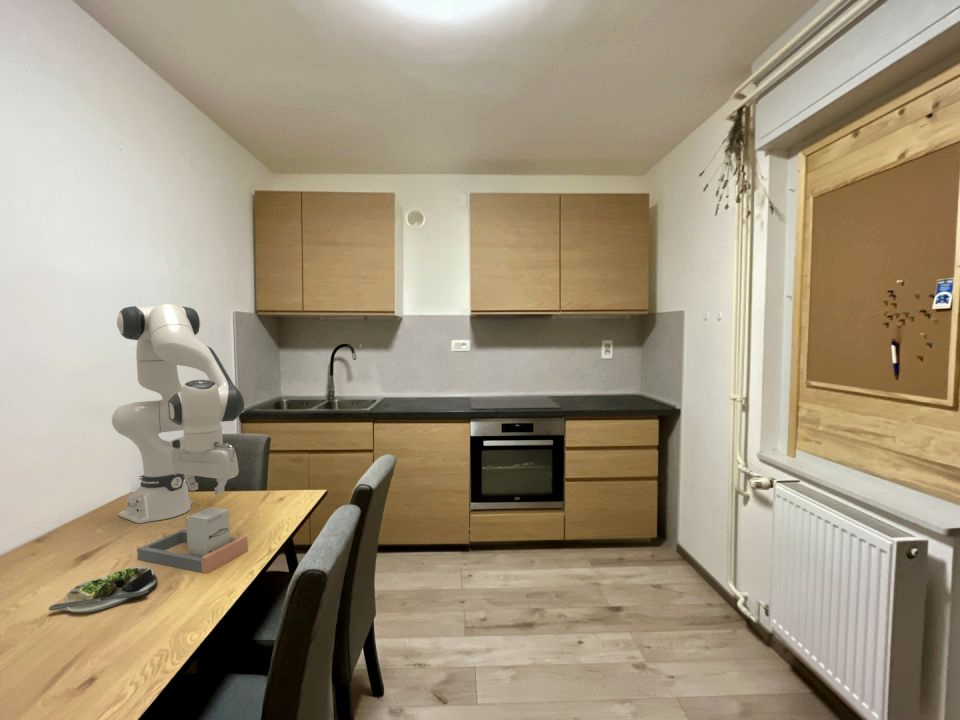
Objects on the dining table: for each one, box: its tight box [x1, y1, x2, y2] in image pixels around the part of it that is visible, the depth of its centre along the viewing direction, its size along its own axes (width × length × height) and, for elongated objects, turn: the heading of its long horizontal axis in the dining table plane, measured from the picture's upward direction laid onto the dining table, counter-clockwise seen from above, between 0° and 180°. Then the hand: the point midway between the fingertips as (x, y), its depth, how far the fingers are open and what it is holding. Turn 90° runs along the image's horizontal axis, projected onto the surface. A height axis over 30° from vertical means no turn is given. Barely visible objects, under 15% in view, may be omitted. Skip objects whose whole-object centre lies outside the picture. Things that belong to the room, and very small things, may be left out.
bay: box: [136, 528, 249, 575], centre depth 126 cm, size 25×13×4 cm, turn 71°
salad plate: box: [48, 566, 158, 613], centre depth 107 cm, size 19×18×5 cm
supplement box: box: [185, 506, 231, 557], centre depth 124 cm, size 7×7×13 cm
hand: (206, 491), depth 123 cm, fingers open, 8 cm apart
